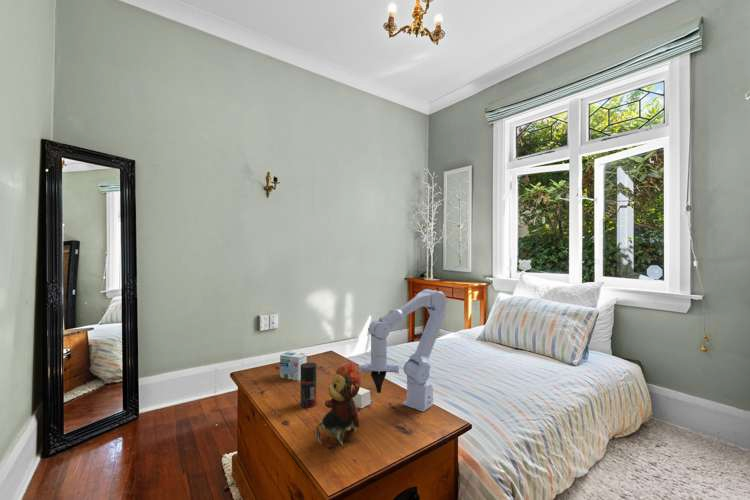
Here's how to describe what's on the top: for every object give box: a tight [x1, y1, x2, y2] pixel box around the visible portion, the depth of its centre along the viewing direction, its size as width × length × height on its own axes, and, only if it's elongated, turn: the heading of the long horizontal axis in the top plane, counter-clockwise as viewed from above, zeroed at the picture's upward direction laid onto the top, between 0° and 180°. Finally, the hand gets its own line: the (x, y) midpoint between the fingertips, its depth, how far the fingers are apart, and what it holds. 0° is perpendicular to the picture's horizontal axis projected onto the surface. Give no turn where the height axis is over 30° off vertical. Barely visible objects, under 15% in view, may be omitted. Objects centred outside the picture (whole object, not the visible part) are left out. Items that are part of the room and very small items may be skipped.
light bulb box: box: [279, 350, 308, 382], centre depth 159 cm, size 11×7×11 cm, turn 68°
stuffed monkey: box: [315, 361, 362, 446], centre depth 105 cm, size 15×17×25 cm
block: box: [353, 386, 371, 409], centre depth 131 cm, size 5×5×9 cm
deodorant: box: [300, 362, 318, 409], centre depth 131 cm, size 6×6×15 cm
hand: (379, 391), depth 124 cm, fingers closed
